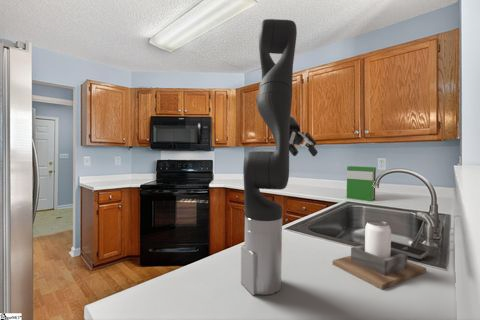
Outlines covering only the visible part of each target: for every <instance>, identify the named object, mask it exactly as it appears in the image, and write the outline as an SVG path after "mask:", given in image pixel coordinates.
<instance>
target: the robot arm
mask: <svg viewBox="0 0 480 320" xmlns="http://www.w3.org/2000/svg"><path fill="white" fill-rule="evenodd" d="M259 27H260V28H259V30H258V31H259V32H258V33H259V34H258V52H259V60H260V67H261V68H260V70H261V81H260V83H259V86H258V91H257V96H256V98H255V102H256V107H257V110H258V111H257V112H258V113H259V115H260V117H261V119H262V121H264V123H265V125H266V126H267V128H268V129H269V131H270V133H271V135H272V137H273V139H274V140H273V141H274V143H275V151H270V150H269V151H268V150H267V151H256V150H255V151H249V152H247V153H246V154H245V157H244V159H243V168H242V169H243V173H242V174H243V189H244V190H243V193H244V195H243V197H244V199H243V201H244V202H243V203H244V245H241V248H240V284H241V285H242V286H243V287H244V288H245V289H246V290H247V291H248V292H249V294H251V295H253V296H255V295H262V296H264V295H265V296H267V295H273V294H276V293H277V292H279V291H280V290H281V288H282V265H283V264H282V261H283V260H282V256H283V254H282V252H283V251H282V250H283V249H282V248H283V243H282V242H283V206H282V205H281V204H280V203H278V202H276V201H273V200H271V199H269V198H268V197H266V196H265V195H264V194H262V192H261V190H284V189H286V187H287V186H288V183H289V179H290V154H291V156H293V157H297V155H298V154H299V150H298V149H297V147H296V146H295V145H298V146H301V147H303V148H305V149H307V150H308V152H309V153H310V154H311V156H312V157H316V156H317V154H318V150H317V149H316V147H315V145H316V144H317V142H316V140H315V139H314V138H313V137H312V135H310V133H309V132H306V133H305V134H303V132H302V131H301V127H300V125H299V123H298V122H297V120H296V119H295V118H294V116H293V115H292V114H291V113H292V112H291V111H292V105H293V104H292V100H293V75H294V74H293V70H294V69H293V68H294V61H295V53H296V44H297V37H298V36H297V35H298V34H297V33H298V32H297V24H296V23H295V21H294V20H292V19H276V18H272V19H271V18H269V19H268V18H267V19H263V20H262V22H261V23H260V26H259ZM271 54H273V55H274V54H275V55H277V54H279V55H280V58H279V60H278V61H277V62H276V63H275V62H274V60H273V58H272V56H271ZM303 141H304V142H303ZM260 189H261V190H260ZM275 292H276V293H275Z"/></svg>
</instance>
